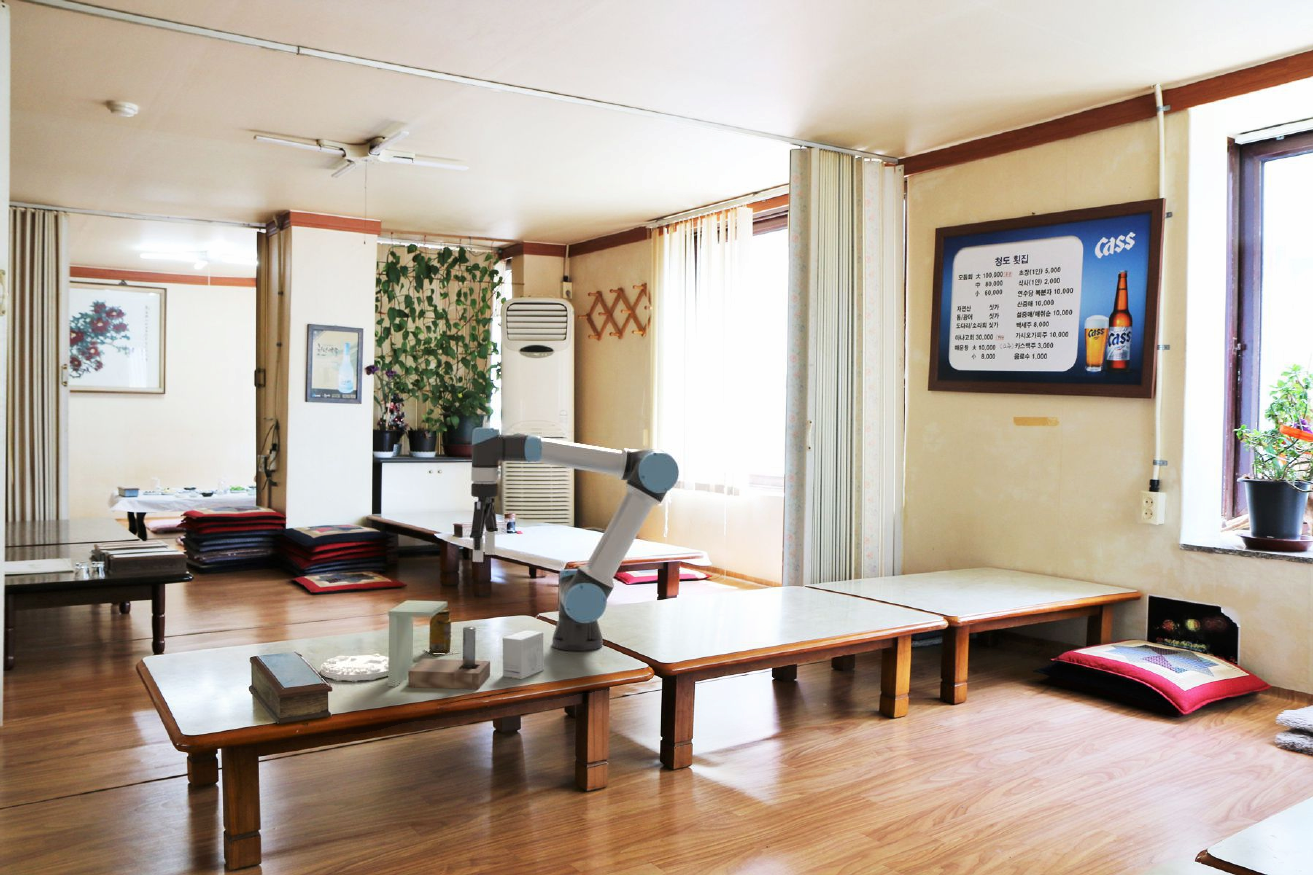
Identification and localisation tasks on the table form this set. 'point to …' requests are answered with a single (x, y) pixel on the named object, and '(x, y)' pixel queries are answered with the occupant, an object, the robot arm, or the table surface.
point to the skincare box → (523, 654)
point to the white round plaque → (356, 667)
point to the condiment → (440, 634)
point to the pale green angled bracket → (405, 635)
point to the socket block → (448, 674)
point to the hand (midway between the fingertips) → (483, 558)
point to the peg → (469, 647)
